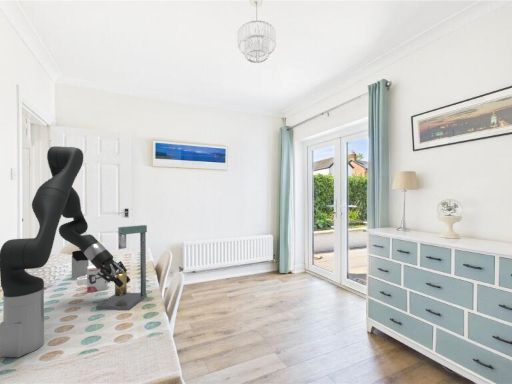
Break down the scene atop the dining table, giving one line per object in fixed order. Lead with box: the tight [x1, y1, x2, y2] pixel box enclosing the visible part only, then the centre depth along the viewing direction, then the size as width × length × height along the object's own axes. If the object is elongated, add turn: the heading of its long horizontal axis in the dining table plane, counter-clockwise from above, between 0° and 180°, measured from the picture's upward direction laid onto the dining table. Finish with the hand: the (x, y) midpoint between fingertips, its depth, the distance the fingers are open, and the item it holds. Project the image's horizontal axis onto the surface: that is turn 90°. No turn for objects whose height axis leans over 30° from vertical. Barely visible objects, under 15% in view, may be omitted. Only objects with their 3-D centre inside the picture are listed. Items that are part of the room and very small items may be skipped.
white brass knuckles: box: [76, 275, 109, 286], centre depth 141 cm, size 3×18×15 cm
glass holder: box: [70, 249, 89, 281], centre depth 148 cm, size 9×14×15 cm, turn 132°
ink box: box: [86, 264, 109, 294], centre depth 127 cm, size 8×5×12 cm, turn 123°
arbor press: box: [95, 224, 148, 311], centre depth 112 cm, size 15×15×32 cm
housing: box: [114, 269, 128, 296], centre depth 112 cm, size 4×4×10 cm
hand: (125, 283), depth 112 cm, fingers closed on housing, 4 cm apart
